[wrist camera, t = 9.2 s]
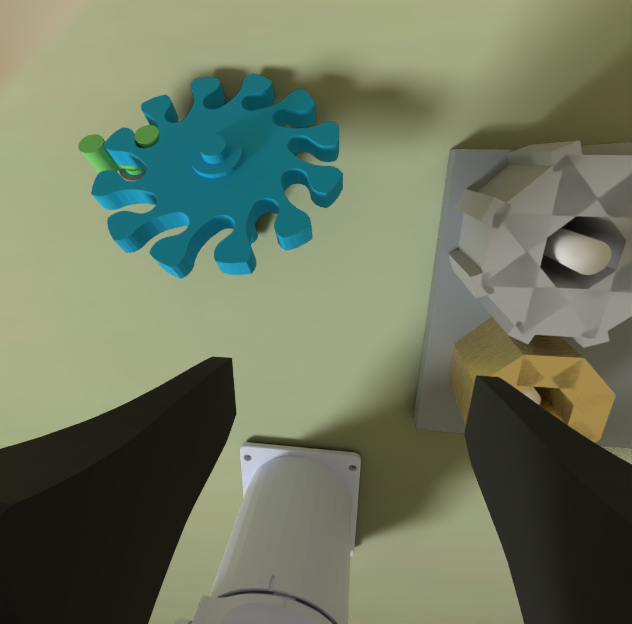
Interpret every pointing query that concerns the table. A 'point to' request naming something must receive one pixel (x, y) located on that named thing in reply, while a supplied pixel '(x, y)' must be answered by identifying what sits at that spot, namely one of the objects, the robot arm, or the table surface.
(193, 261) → the gear
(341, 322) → the table surface
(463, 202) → the gear board
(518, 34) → the table surface
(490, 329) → the brass gear
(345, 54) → the table surface
